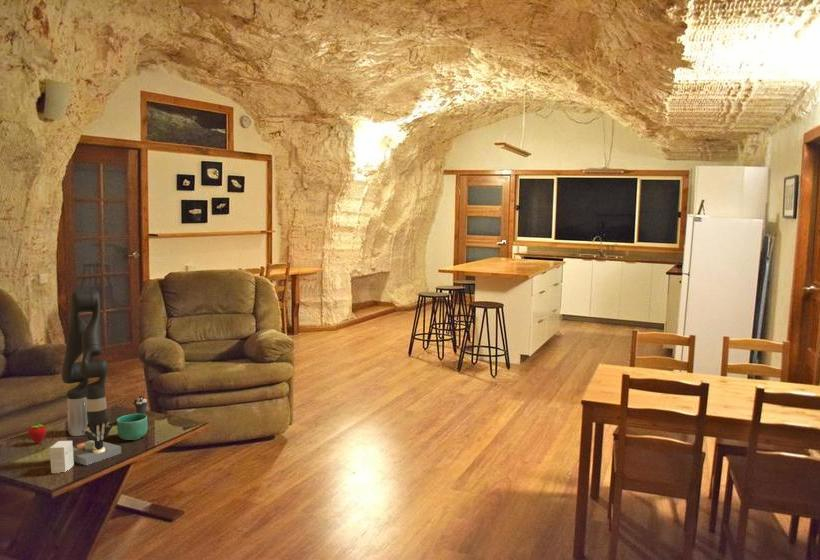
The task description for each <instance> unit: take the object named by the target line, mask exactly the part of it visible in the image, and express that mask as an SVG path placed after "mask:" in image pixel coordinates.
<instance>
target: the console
mask: <svg viewBox="0 0 820 560" xmlns="http://www.w3.org/2000/svg"><path fill="white" fill-rule="evenodd" d="M103 447H105V452H102V453H99V454H95V453H93V450H92V451H90V452H88V451H85V448H83V449H78V448H77V445H75V446H73V459H74V463H75V462H76V463H75V464H79V463H80V464H79V465H82V464H83V465H82V466H85V465H87V466H90V465H92V463H93V464H95V463H98V462H100V461H104V460H106V458H107V459H109V458H112V457H115V456H117V455H118V456H119V455H120V454H122V446H120V445H117V444H113V443H110V442H106V441H103ZM103 459H104V460H103ZM94 462H95V463H94ZM89 464H90V465H89Z"/></svg>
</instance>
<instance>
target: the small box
mask: <svg viewBox="0 0 820 560" xmlns="http://www.w3.org/2000/svg"><path fill="white" fill-rule="evenodd" d="M73 447H74V446H73V440H58V441H57V442H55V443H54V444H53V445H52V446H50V447H49V458H50V471H51V472H50V473H51V474H52V473H53V474H61V473H60V472H66V471H67V470H68V471H69V470H70V469H72V468H73V467H74V466H75V462H74V459H73ZM68 471H67V472H68ZM67 472H66V473H67Z"/></svg>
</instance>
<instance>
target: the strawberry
mask: <svg viewBox="0 0 820 560" xmlns="http://www.w3.org/2000/svg"><path fill="white" fill-rule="evenodd" d="M30 427H31V428H29V429H28V430H27V431H28V432H27V434H28V436H29V438H30V440H32V441H33V442H34V443H35V444H36V445H37V444H38V445H39V444H41V443H42V441H43V440H44V439H45V437H46V436H47V432H48V430H47V428H46V427H45V425H43V424H42V423H39V424H37V425H32V426H30Z"/></svg>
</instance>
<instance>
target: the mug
mask: <svg viewBox="0 0 820 560" xmlns="http://www.w3.org/2000/svg"><path fill="white" fill-rule="evenodd" d="M116 426H117V427H116V429H117V435H118V437H119V438H120V439H123V440H125V441H127V440H134V441H137V439H138V440H140V439H142V438H143V437H145V435H147V432H148V430H149V429H148V428H149V425H148V415H147V414H146V413H145V414H137V413H131V414H125V415H122V416H120V417H118V418H117V419H116ZM141 437H142V438H141Z"/></svg>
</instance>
